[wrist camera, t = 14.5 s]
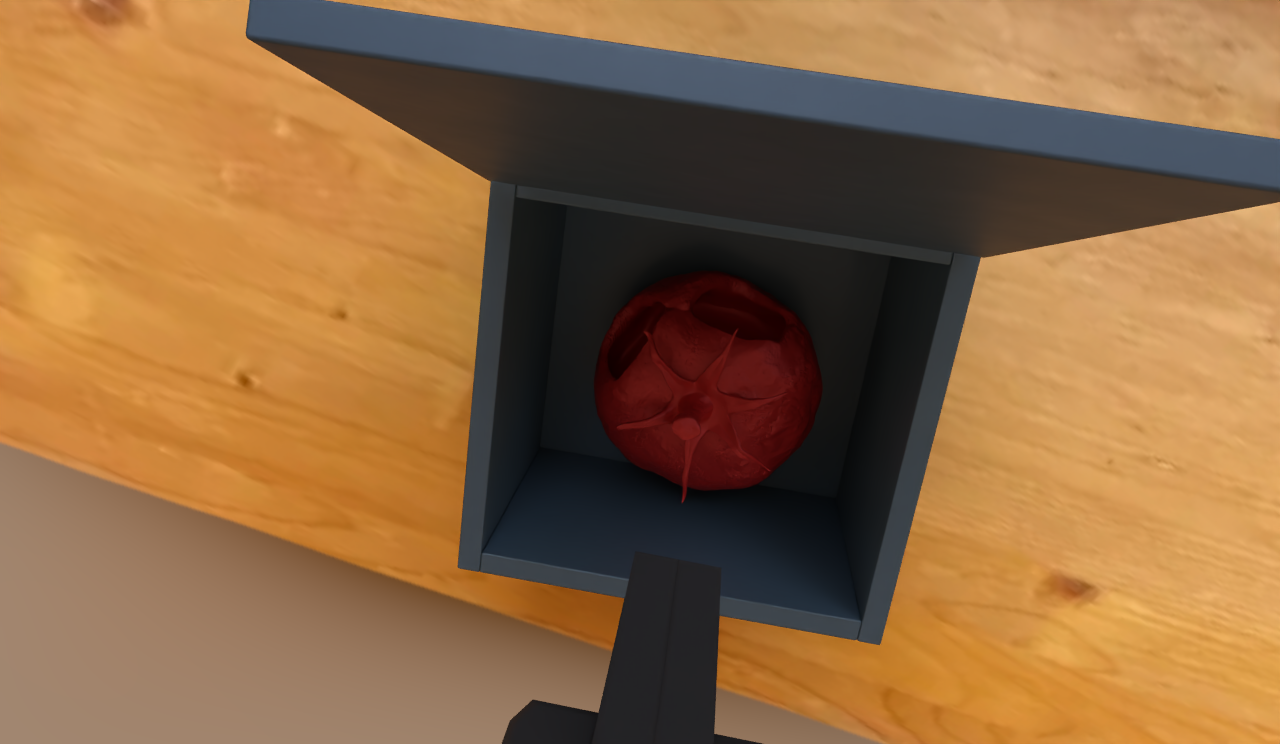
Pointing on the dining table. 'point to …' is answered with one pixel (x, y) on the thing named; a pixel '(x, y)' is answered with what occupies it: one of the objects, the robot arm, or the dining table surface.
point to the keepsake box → (649, 503)
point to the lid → (766, 135)
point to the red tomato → (707, 381)
